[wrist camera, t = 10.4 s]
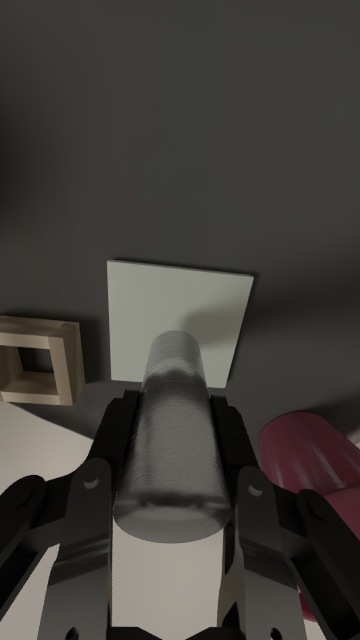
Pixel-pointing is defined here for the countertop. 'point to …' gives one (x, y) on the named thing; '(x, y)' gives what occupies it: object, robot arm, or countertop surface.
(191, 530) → the metal peg
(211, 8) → the countertop surface
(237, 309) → the sage mat
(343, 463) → the plant pot
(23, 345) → the wood collar
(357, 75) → the countertop surface
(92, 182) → the countertop surface
